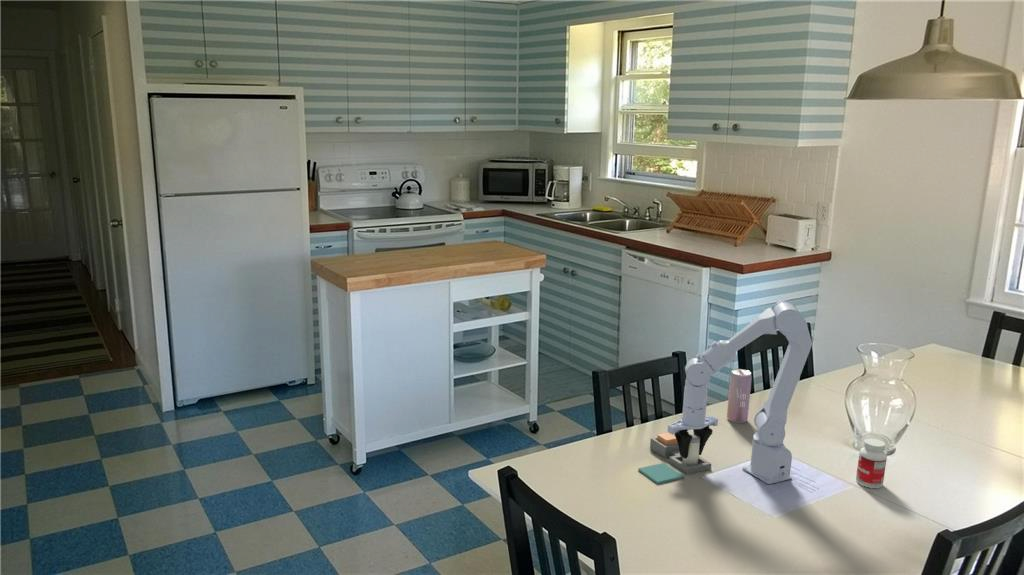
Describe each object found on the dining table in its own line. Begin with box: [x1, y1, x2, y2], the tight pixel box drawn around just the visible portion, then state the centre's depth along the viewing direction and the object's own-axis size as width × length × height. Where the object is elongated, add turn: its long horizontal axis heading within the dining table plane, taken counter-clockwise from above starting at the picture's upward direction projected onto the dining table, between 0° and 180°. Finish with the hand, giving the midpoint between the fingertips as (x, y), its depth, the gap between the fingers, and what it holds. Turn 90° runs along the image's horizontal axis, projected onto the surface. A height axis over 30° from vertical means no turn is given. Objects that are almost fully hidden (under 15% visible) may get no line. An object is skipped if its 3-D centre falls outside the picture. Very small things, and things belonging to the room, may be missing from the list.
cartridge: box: [682, 433, 700, 466], centre depth 198 cm, size 4×4×8 cm
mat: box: [637, 462, 685, 485], centre depth 194 cm, size 8×8×1 cm
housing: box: [649, 436, 712, 475], centre depth 203 cm, size 16×8×3 cm, turn 26°
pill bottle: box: [855, 438, 888, 489], centre depth 191 cm, size 6×6×11 cm
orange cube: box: [656, 432, 678, 446], centre depth 207 cm, size 4×4×4 cm
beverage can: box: [726, 368, 752, 424], centre depth 229 cm, size 6×6×15 cm
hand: (690, 455), depth 199 cm, fingers closed on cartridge, 4 cm apart
